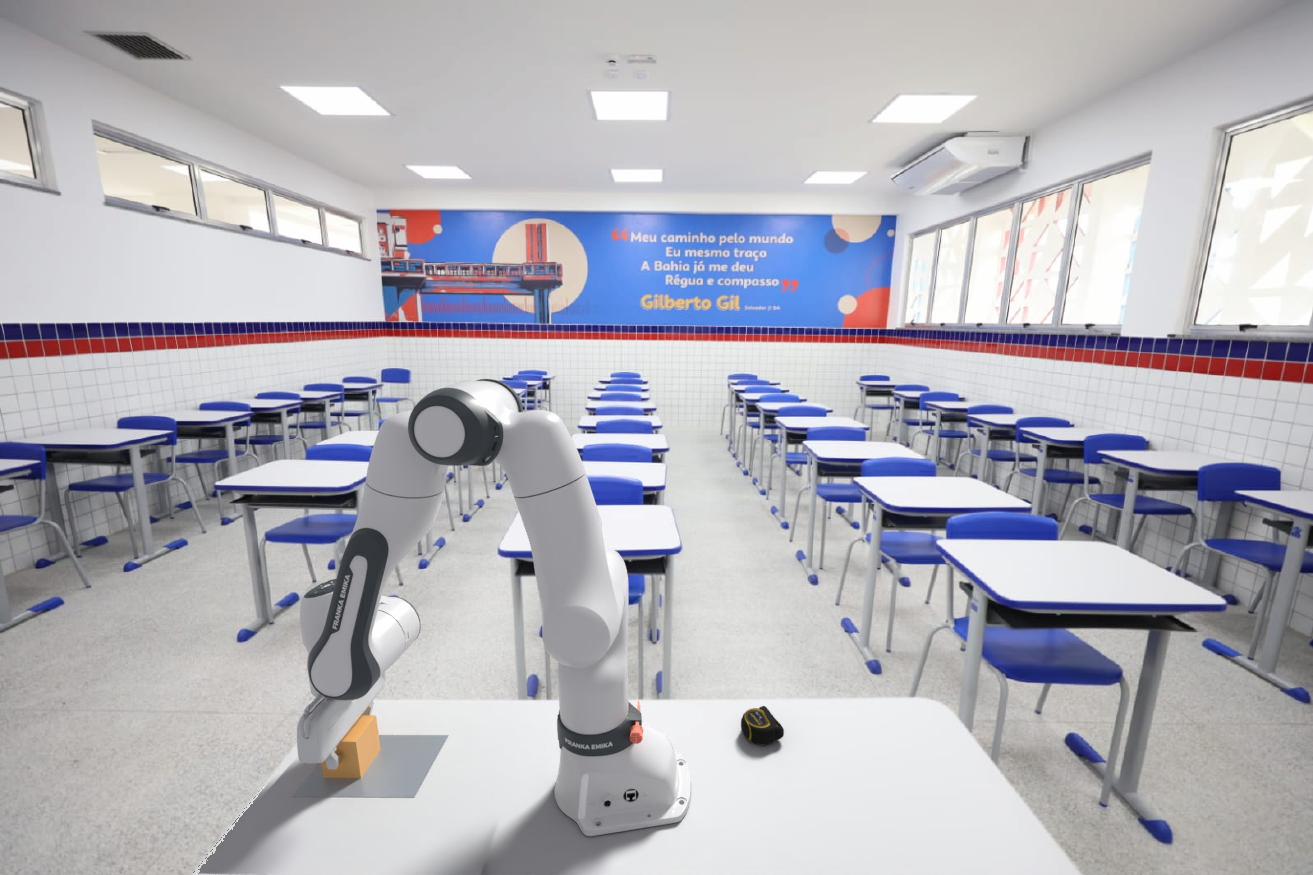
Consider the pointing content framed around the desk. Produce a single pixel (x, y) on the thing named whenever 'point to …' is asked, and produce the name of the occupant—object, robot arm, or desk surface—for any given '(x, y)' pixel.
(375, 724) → the amber rectangular brick
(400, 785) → the plate
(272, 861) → the desk surface
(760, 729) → the tape measure
